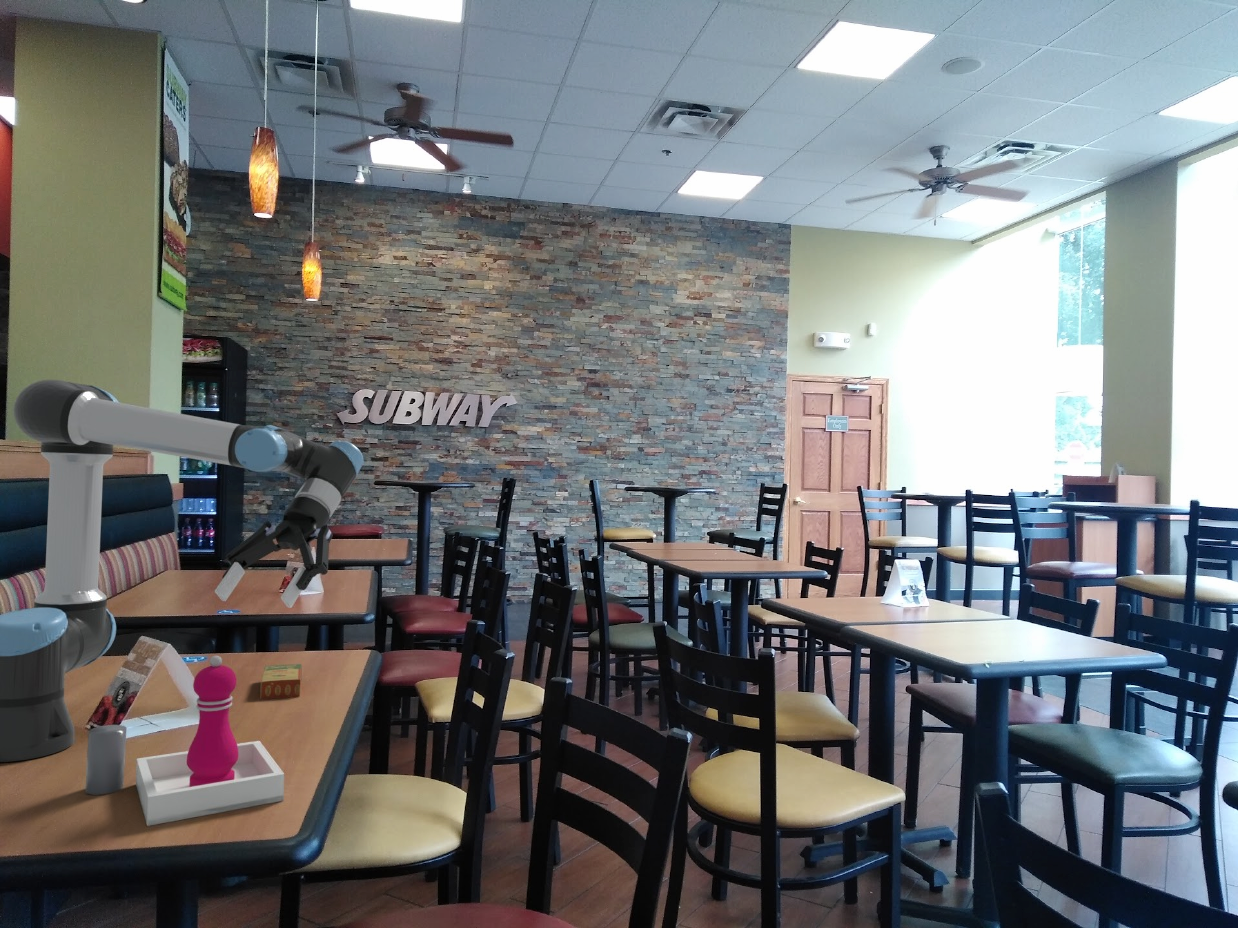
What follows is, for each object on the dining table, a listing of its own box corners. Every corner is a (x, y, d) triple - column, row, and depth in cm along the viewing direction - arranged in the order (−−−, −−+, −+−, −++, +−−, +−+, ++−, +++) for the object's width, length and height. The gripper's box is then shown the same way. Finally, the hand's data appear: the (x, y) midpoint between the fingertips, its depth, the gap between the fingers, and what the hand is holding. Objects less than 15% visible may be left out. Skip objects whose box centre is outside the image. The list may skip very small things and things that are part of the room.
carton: (259, 700, 181) (259, 680, 181) (263, 682, 196) (264, 664, 196) (300, 698, 184) (301, 678, 184) (301, 680, 199) (302, 662, 199)
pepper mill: (223, 795, 126) (227, 661, 126) (176, 793, 127) (180, 660, 127) (246, 777, 134) (249, 651, 134) (201, 776, 134) (205, 649, 134)
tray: (147, 825, 117) (148, 796, 117) (135, 784, 132) (136, 758, 132) (283, 800, 127) (284, 773, 127) (258, 764, 142) (259, 740, 142)
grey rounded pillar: (80, 795, 127) (83, 735, 127) (91, 782, 132) (94, 725, 132) (117, 793, 128) (121, 734, 128) (127, 781, 133) (130, 724, 133)
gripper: (377, 525, 157) (323, 619, 143) (266, 518, 165) (204, 606, 150) (361, 497, 152) (304, 592, 138) (247, 491, 160) (182, 580, 145)
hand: (252, 599), depth 144 cm, fingers open, 13 cm apart
